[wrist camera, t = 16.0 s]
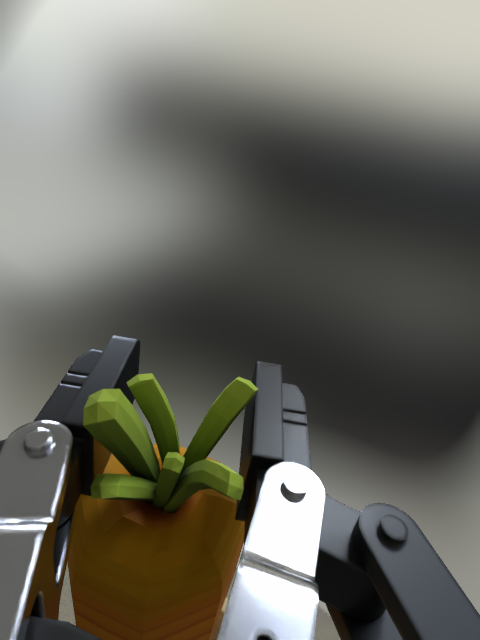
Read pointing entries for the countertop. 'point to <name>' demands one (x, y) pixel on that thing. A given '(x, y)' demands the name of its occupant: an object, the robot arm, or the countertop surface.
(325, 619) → the countertop surface
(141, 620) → the carrot
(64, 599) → the countertop surface
